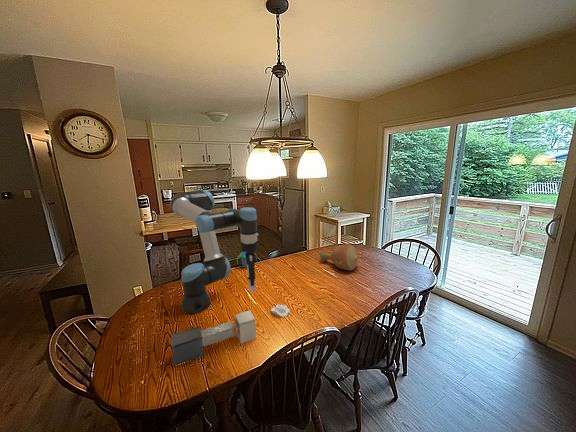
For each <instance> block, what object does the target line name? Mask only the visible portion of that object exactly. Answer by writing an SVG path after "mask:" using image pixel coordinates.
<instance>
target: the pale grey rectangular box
mask: <svg viewBox="0 0 576 432" xmlns="http://www.w3.org/2000/svg"><path fill="white" fill-rule="evenodd" d="M200 331H201V336H202V344H203V347H206V346H209V345H212V344H215V343H217V342H221V341H224V340H226V339H229V338H232V337H233V338H235V337H237V332H236V323H235V322H234V319H231V320H230V321H228V322H225V323H222V324H218V325H215V326H211V327H208V328H206V329H205V328H204V329H203V330H201V329H200Z"/></svg>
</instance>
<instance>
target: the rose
mask: <svg viewBox="0 0 576 432" xmlns="http://www.w3.org/2000/svg"><path fill="white" fill-rule="evenodd" d="M270 311H271V313H272V314H274V315H276V316H278V317H280V318H286V317H287V316H288V314H290V311H291V309H290V308H288V306H287V305H286V304H285V305H284V304H276V305H275V306H274V307H272V308H271V309H270Z"/></svg>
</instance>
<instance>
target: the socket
mask: <svg viewBox="0 0 576 432" xmlns="http://www.w3.org/2000/svg"><path fill="white" fill-rule="evenodd" d="M234 316H235V326H236V336H237V338H238V340H239V342H240V344H241V345H243V344H245V343H247V342H250V341H253V340H255V339H257V331H256V330H257V329H256V327H257V326H256V319H255V317H254V314H253V313H252V311H251V310H250V309H249V310H245V311H243V312H239V313H236V314H234Z"/></svg>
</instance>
